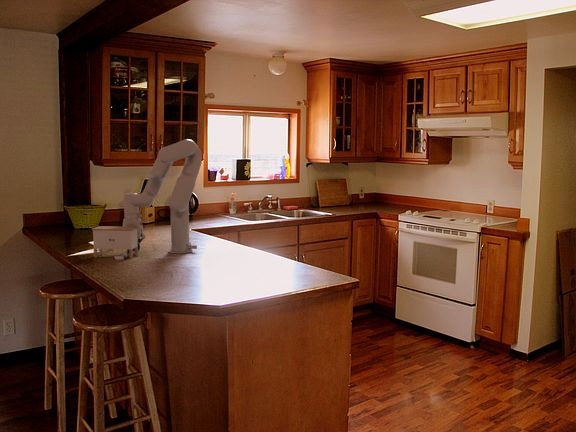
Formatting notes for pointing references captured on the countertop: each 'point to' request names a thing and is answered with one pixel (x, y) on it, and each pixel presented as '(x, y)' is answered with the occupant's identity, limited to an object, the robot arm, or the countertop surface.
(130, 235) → the cabinet
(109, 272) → the countertop surface
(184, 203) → the robot arm
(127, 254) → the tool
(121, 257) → the round metal knob
